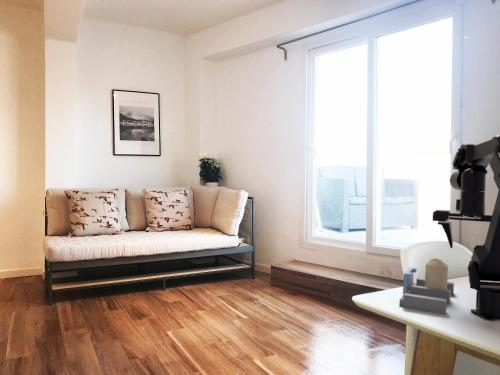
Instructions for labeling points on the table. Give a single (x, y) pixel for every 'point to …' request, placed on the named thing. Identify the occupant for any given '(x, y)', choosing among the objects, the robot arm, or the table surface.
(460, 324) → the table surface
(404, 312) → the table surface
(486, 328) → the table surface
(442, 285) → the candle
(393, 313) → the table surface
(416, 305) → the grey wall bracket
